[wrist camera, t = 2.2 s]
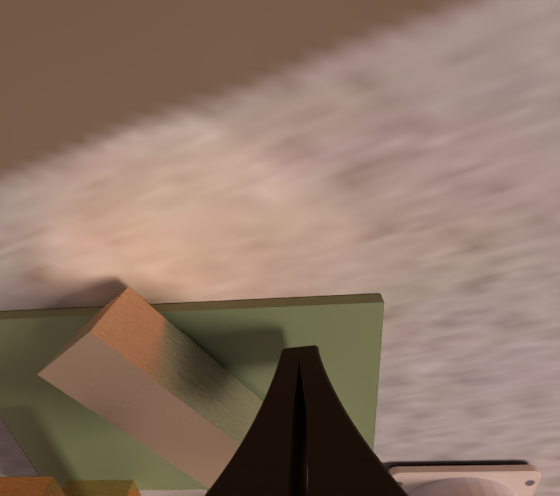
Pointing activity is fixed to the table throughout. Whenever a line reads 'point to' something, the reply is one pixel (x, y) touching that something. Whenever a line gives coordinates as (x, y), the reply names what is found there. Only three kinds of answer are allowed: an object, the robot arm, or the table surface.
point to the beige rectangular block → (156, 387)
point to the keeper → (65, 487)
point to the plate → (211, 339)
